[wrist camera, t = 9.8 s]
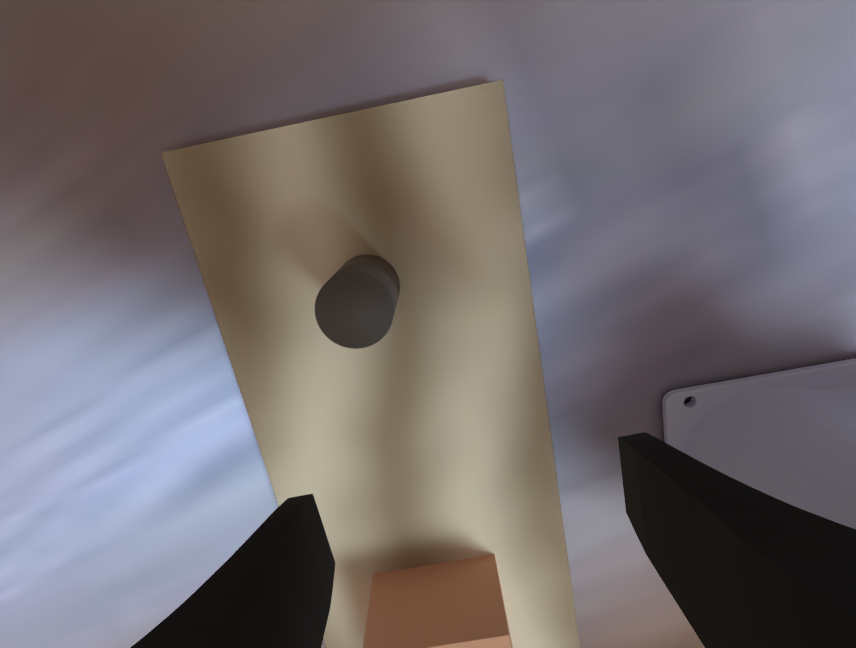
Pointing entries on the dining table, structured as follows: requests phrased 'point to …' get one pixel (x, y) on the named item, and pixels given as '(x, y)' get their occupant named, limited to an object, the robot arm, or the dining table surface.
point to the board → (390, 342)
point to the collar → (438, 607)
